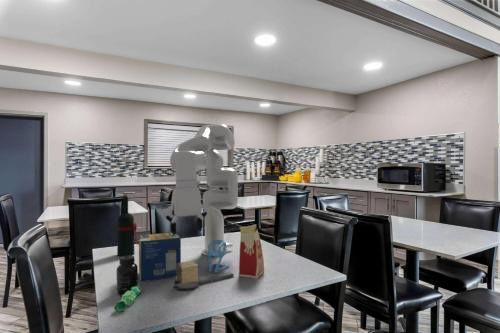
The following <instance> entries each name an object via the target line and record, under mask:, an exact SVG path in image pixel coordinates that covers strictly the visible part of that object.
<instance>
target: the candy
mask: <svg viewBox="0 0 500 333" xmlns="http://www.w3.org/2000/svg"><path fill="white" fill-rule="evenodd" d="M141 292H142V288H141V286H140V285H138V286H133V287H132V288H131V291H127V292H126V293H125V294H124V295H121V296H122V297H120V298H121V299H120V300H119V301H116V304H115V305H114V307H113V308H114V311H115V312H116V313H118V312H120V311H123V312H125V311H126V310H127V307H131V305H132V304H133V303H134V302H135V301H136V299H137V297H138V296H140V294H141Z"/></svg>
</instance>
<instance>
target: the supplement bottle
mask: <svg viewBox="0 0 500 333" xmlns="http://www.w3.org/2000/svg"><path fill="white" fill-rule="evenodd" d="M135 261H136V259H135V255H127V256H122V257H119V262H118V263H119V265H118V266H117V267H116V273H115V274H116V293H117V294H118V296H123V295H124V294H125V293H126V292H127V291H131V288H132V287H133V286H139V265H137V263H135Z"/></svg>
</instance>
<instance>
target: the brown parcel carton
mask: <svg viewBox="0 0 500 333" xmlns="http://www.w3.org/2000/svg"><path fill="white" fill-rule="evenodd" d="M198 278H199V265H198V263H196V262H194V261H193V260H188V261H183V262H182V261H181V263H177V264H176V277H175V280H177V281H178V282H179V283H180V284H181V285H186V284H190V283H195V282H198Z"/></svg>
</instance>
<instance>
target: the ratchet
mask: <svg viewBox="0 0 500 333" xmlns="http://www.w3.org/2000/svg"><path fill="white" fill-rule="evenodd" d="M234 276H235V275H234V273H233V272H231V271H225V272H222V273H221V272H220V273H217V274H216V273H215V274H211V275H208V276H202V277H198V282H195V283H190V284H186V285H181V284H180V283H179V282H178V281H177V280H176V279H175V280H174V281H173V288H174V289H175V290H176V291H179V292H188V291H193V290H196V289H198V288H199V287H200V285H205V284H209V283H212V282H213V283H214V282H218V281H221V280H227V279H230V278H234ZM226 278H227V279H226Z"/></svg>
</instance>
